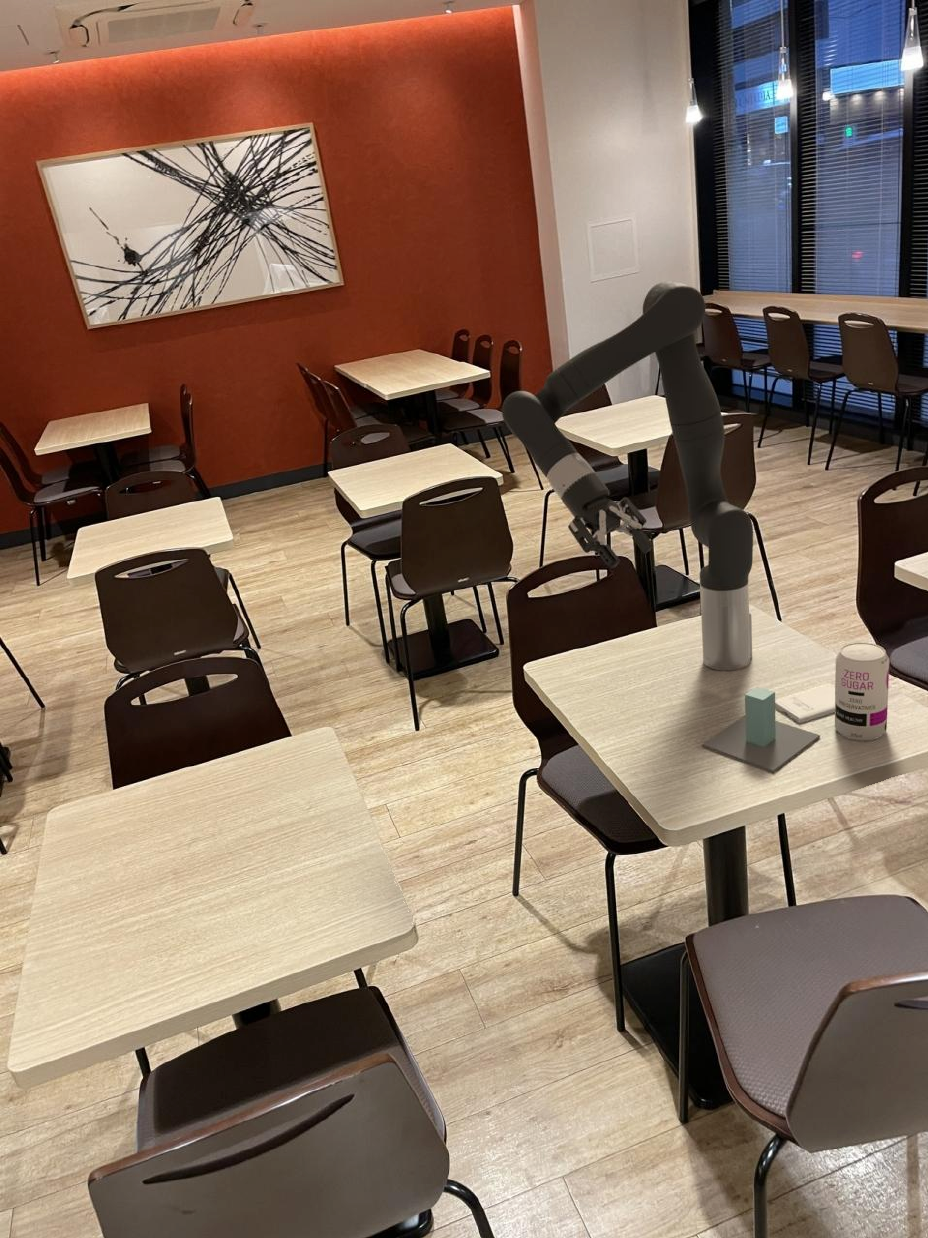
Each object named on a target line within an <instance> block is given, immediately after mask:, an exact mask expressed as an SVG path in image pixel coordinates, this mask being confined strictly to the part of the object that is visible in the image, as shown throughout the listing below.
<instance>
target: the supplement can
mask: <svg viewBox="0 0 928 1238" xmlns="http://www.w3.org/2000/svg"><path fill="white" fill-rule="evenodd" d="M889 676H890V658H889V656H888V655H887V651H886V649H884V647H882V646H880V645H878V644H875V643H871V642H870V643H869V642H853V643H848V644H844V645H843V646H842V647H840V650H839V652H838V653H837V654H836V657H835V680H834V681H835V683H834V684H835V685H834V686H835V712H834V728H835V730H836V731H837V732H838V733H839V734H840V735H842V736H843V737H845V738H847V739H849V740H853V741H858V742H862V741H865V740H866V741H865V742H867V740H868V741H872V739H874V740H876V739H878V738H877V737H879V738H880V737H881V736H883V735H884V734H885V733H886V732H887V728H888V726H887V725H888V703H889V681H890V679H889V678H890V677H889ZM875 738H876V739H875Z"/></svg>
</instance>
